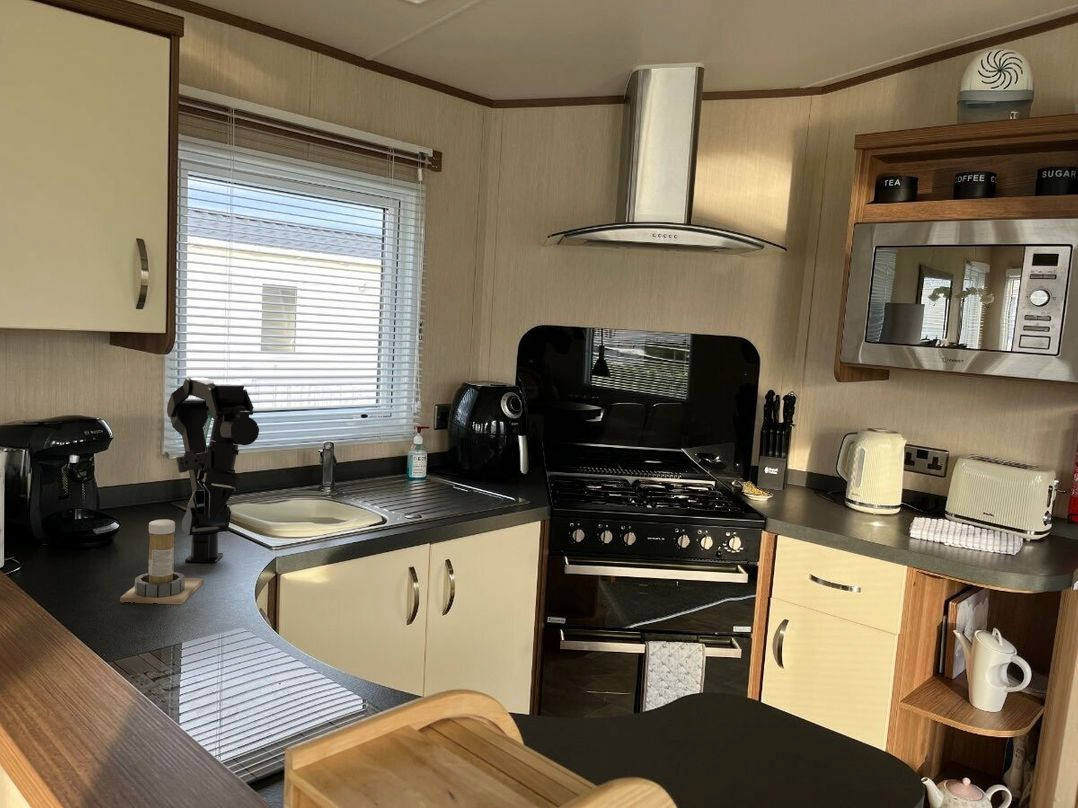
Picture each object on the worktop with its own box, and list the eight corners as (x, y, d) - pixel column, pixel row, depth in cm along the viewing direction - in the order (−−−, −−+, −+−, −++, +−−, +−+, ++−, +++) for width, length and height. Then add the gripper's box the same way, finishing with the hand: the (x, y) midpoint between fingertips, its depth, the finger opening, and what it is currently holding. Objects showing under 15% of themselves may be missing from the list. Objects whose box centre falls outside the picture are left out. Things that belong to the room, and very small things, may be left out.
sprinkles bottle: (152, 586, 165) (153, 518, 163) (176, 586, 165) (178, 519, 164) (144, 594, 160) (145, 524, 159) (169, 594, 161) (171, 524, 160)
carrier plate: (147, 581, 171) (147, 571, 171) (203, 583, 172) (203, 573, 171) (120, 602, 158) (120, 591, 158) (181, 604, 159) (181, 594, 159)
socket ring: (145, 583, 167) (145, 570, 166) (190, 584, 167) (190, 572, 167) (127, 596, 158) (128, 583, 158) (174, 598, 159) (175, 585, 159)
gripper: (179, 436, 181) (164, 509, 179) (186, 436, 164) (170, 516, 163) (233, 444, 186) (220, 516, 184) (245, 445, 169) (230, 524, 167)
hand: (209, 517), depth 174 cm, fingers open, 9 cm apart
